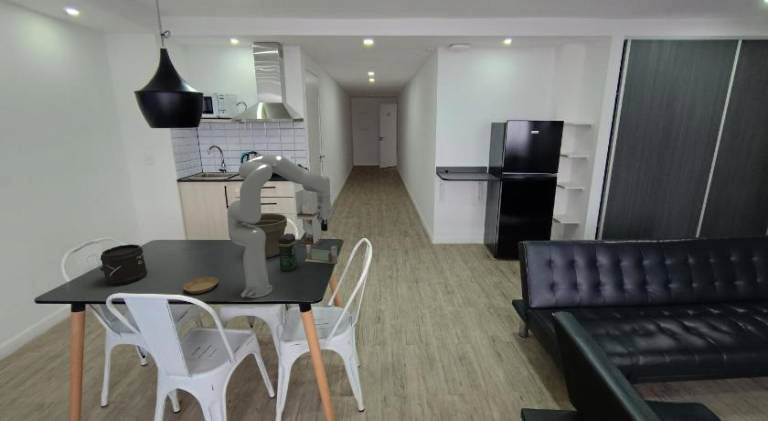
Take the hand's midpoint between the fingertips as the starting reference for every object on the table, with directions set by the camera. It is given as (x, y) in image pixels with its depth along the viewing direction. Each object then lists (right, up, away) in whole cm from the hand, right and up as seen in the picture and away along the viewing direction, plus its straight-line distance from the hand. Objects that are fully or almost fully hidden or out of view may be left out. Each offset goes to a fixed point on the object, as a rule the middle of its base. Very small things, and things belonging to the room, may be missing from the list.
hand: (324, 230), depth 195 cm
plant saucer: (-53, -26, -30) cm, 67 cm away
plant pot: (-36, -15, +12) cm, 41 cm away
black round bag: (-97, -24, -19) cm, 102 cm away
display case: (-14, -10, +29) cm, 33 cm away
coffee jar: (-18, -20, -8) cm, 28 cm away
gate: (-1, -16, -1) cm, 16 cm away
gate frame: (-1, -17, -1) cm, 17 cm away
